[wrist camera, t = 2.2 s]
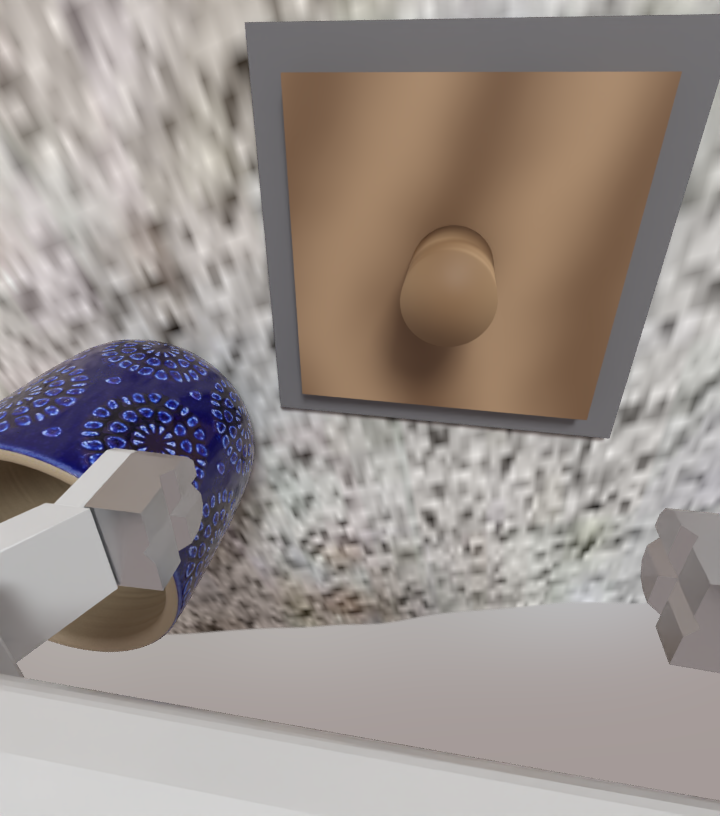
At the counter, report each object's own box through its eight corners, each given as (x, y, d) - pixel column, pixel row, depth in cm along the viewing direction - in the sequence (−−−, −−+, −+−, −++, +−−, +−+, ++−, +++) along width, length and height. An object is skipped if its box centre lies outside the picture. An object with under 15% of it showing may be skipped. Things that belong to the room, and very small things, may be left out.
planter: (50, 385, 30) (-142, 525, 20) (162, 270, 25) (-25, 385, 15) (192, 510, 33) (83, 680, 24) (316, 431, 28) (239, 606, 19)
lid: (672, 71, 17) (735, 70, 13) (582, 408, 24) (605, 477, 20) (288, 72, 19) (237, 71, 15) (307, 383, 26) (276, 442, 22)
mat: (734, 15, 17) (739, 13, 16) (607, 433, 25) (609, 438, 25) (248, 23, 19) (244, 22, 19) (283, 402, 27) (281, 406, 27)
